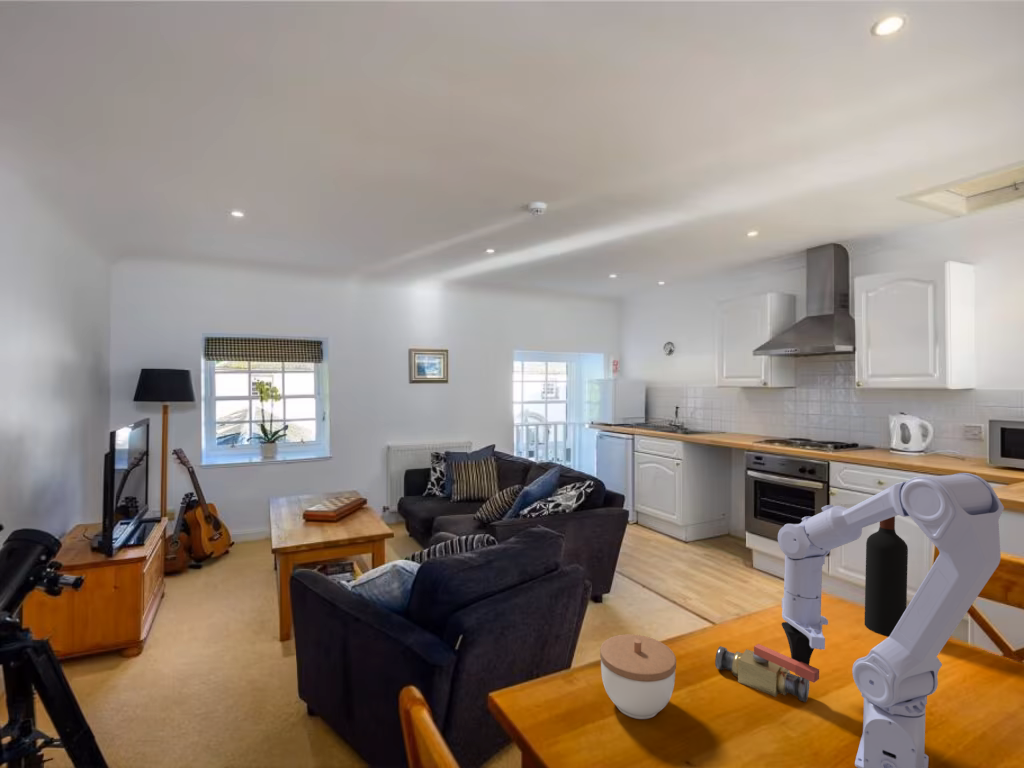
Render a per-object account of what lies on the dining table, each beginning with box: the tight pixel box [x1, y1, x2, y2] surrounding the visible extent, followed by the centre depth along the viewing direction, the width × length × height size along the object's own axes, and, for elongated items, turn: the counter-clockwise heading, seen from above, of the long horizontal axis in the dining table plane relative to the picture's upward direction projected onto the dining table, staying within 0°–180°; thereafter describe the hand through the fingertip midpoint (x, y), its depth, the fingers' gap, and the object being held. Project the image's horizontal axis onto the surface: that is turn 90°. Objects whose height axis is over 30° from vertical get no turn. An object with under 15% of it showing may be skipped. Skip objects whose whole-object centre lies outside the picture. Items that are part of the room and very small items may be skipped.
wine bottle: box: [864, 516, 909, 637], centre depth 113 cm, size 8×8×30 cm
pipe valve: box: [714, 645, 810, 703], centre depth 93 cm, size 15×5×4 cm, turn 49°
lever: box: [753, 643, 820, 683], centre depth 89 cm, size 11×3×2 cm, turn 36°
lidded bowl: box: [599, 633, 677, 720], centre depth 86 cm, size 13×13×11 cm
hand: (800, 667), depth 89 cm, fingers closed, pressing on lever
